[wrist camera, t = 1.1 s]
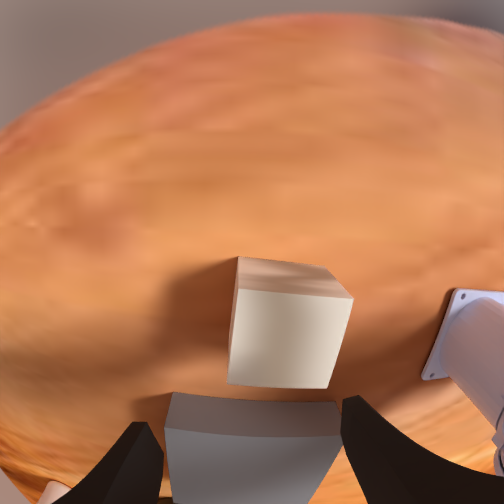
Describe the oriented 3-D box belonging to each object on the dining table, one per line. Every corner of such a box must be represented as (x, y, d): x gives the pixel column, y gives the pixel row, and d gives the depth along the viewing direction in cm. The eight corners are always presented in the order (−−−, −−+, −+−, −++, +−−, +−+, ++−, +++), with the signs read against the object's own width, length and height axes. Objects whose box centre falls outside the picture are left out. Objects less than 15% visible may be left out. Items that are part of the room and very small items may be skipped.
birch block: (323, 265, 17) (353, 299, 12) (307, 339, 18) (326, 388, 14) (238, 255, 17) (238, 288, 12) (229, 333, 18) (226, 384, 13)
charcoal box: (333, 398, 20) (348, 434, 16) (298, 477, 23) (304, 507, 19) (174, 388, 19) (164, 427, 16) (178, 471, 22) (173, 502, 19)
